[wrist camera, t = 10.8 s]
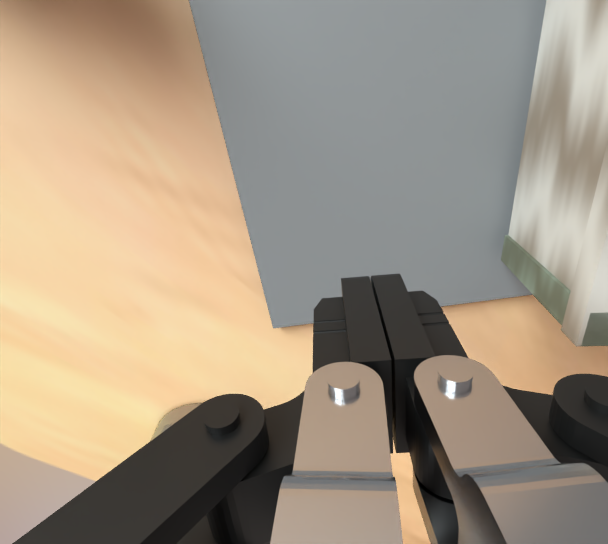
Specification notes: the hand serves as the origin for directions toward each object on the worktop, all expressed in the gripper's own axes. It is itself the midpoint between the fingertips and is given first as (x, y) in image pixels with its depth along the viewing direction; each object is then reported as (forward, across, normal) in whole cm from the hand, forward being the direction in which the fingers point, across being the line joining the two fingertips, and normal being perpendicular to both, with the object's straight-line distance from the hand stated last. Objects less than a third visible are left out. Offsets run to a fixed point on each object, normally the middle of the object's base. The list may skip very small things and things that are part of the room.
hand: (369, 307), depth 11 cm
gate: (+13, -10, -2) cm, 17 cm away
